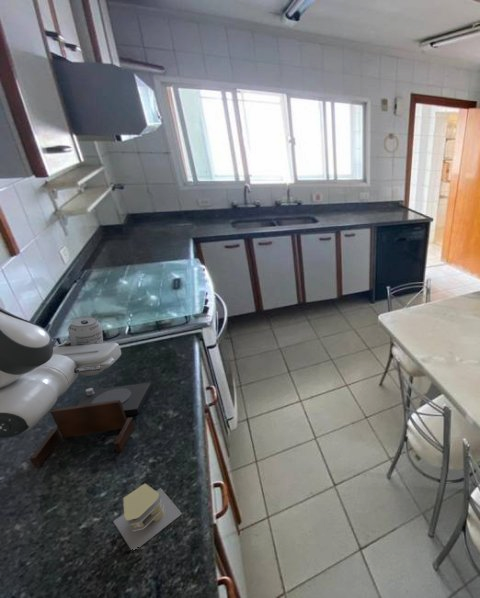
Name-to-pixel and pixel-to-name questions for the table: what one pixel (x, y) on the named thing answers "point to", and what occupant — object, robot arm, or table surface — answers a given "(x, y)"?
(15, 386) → the robot arm
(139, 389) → the stove
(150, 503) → the stacked layers on plate
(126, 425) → the brown wooden stand
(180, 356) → the table surface
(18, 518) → the table surface
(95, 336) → the energy drink can
